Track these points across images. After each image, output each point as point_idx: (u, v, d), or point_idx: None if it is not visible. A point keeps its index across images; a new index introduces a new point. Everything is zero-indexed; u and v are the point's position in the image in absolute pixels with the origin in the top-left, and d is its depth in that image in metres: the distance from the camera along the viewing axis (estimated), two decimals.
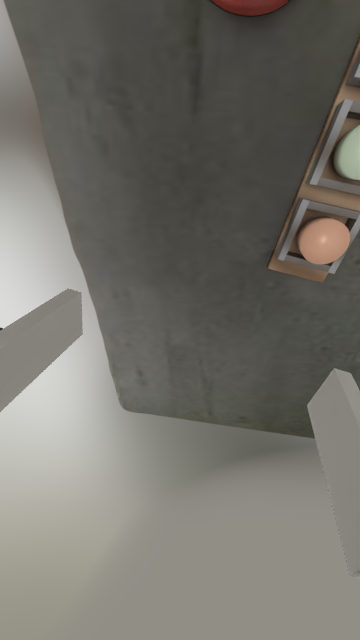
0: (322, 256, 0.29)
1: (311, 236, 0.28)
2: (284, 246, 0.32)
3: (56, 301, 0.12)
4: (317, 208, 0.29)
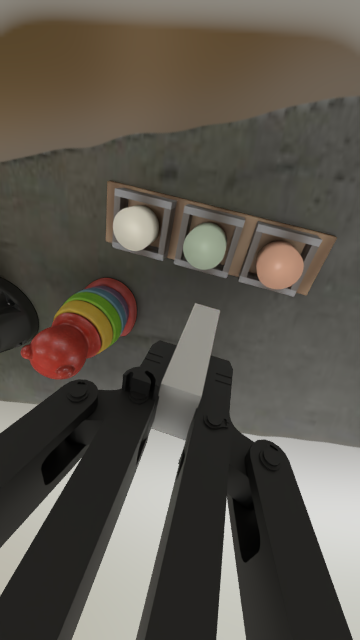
0: (293, 268, 0.28)
1: (270, 281, 0.29)
2: (280, 291, 0.32)
3: (196, 316, 0.13)
4: (247, 268, 0.31)
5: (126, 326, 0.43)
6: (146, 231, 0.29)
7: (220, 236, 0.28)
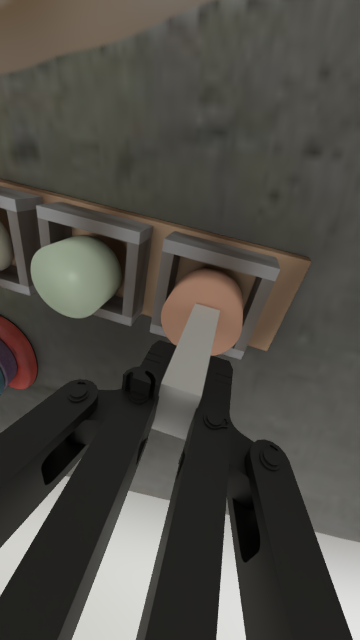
0: (225, 324, 0.15)
1: None
2: None
3: (196, 316, 0.13)
4: (160, 313, 0.18)
5: (20, 378, 0.30)
6: None
7: (86, 263, 0.15)
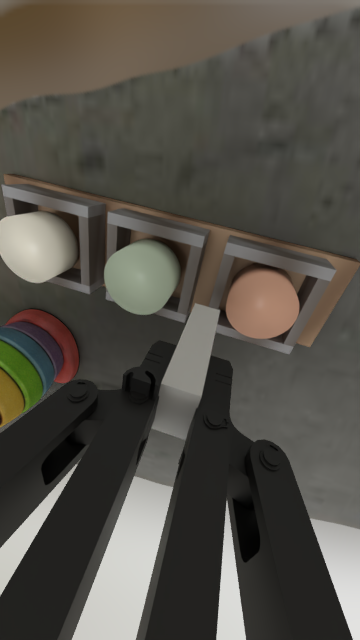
0: (283, 309, 0.17)
1: (248, 327, 0.19)
2: (268, 346, 0.20)
3: (196, 316, 0.13)
4: None
5: (64, 373, 0.32)
6: (45, 254, 0.18)
7: (159, 264, 0.16)
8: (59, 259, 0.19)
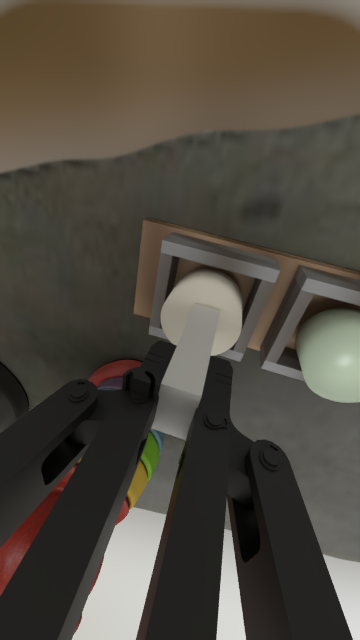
0: None
1: None
2: None
3: (196, 316, 0.13)
4: None
5: None
6: (229, 328, 0.15)
7: None
8: None
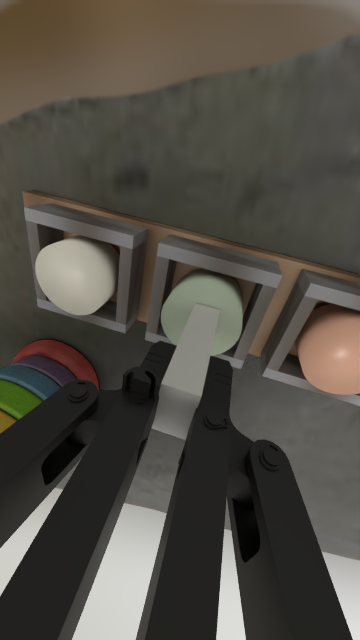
0: None
1: (327, 381, 0.15)
2: (342, 398, 0.17)
3: (196, 316, 0.13)
4: (281, 358, 0.17)
5: None
6: (94, 285, 0.16)
7: (233, 304, 0.14)
8: (108, 290, 0.16)
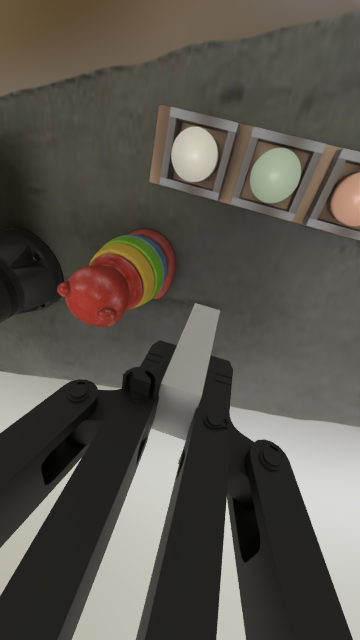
0: None
1: (349, 216, 0.26)
2: (357, 237, 0.27)
3: (196, 316, 0.13)
4: (320, 208, 0.27)
5: (162, 286, 0.39)
6: (209, 156, 0.26)
7: (297, 159, 0.24)
8: (215, 162, 0.27)
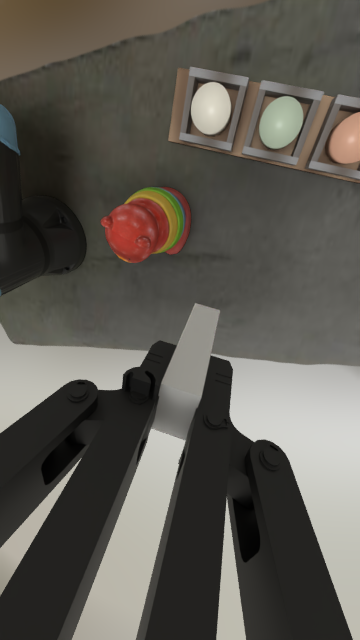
0: None
1: (345, 154, 0.30)
2: (352, 175, 0.32)
3: (196, 316, 0.13)
4: (320, 150, 0.31)
5: (180, 239, 0.43)
6: (224, 108, 0.31)
7: (299, 106, 0.29)
8: (229, 114, 0.31)
